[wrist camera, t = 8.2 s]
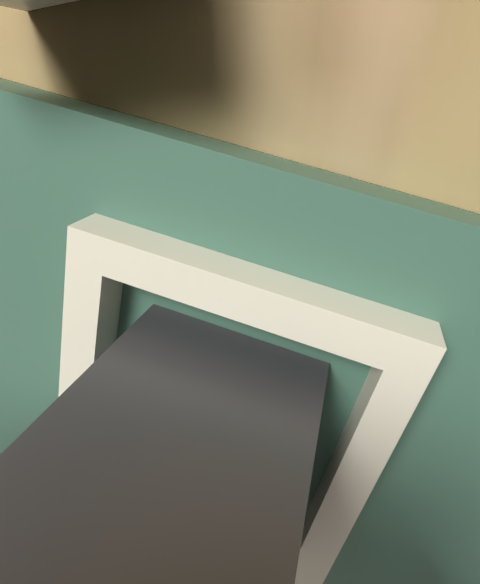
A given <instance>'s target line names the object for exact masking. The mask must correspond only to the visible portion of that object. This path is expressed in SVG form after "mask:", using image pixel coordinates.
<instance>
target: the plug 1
mask: <svg viewBox="0 0 480 584" xmlns="http://www.w3.org/2000/svg"><path fill="white" fill-rule="evenodd" d="M73 1H78V0H0V5H1V6H5V7H10V8H15V9H19V10H24V11H31V10H36V9H40V8H45V7H50V6H54V5H59V4H64V3H68V2H73Z"/></svg>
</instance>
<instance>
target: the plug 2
mask: <svg viewBox="0 0 480 584" xmlns="http://www.w3.org/2000/svg"><path fill="white" fill-rule="evenodd" d="M328 369H329V363H327V362H324V361H321V360H318V359H315V358H312V357H309V356H306V355H303V354H300V353H297V352H294V351H291V350H289V349H286V348H283V347H280V346H277V345H274V344H271V343H268V342H265V341H262V340H259V339H256V338H253V337H250V336H247V335H244V334H241V333H238V332H235V331H232V330H229V329H226V328H223V327H220V326H218V325H215V324H212V323H209V322H206V321H203V320H200V319H197V318H194V317H191V316H188V315H185V314H182V313H179V312H176V311H173V310H170V309H167V308H164V307H161V306H158V305H155V304H153V305H152V306H151V307H150V308H149V309H148V310H147V311H146V312H145V313H144V314H143V315H141V316H140V317H139V318H138V319H137V320H136V321H135V322H134V323H133V324H132V325H131V326H130V327H129V328H128V329H127V330H126V331H125V332H124V333H123V334H122V335H121V336H120V337H119V338H118V339H117V340H116V341H115V342H114V343H113V344H112V345H111V346H110V347H109V348H108V349H107V350H106V351H105V352H104V353H103V354H102V355H101V356H100V357H99V358H98V359H97V360H96V361H95V362H94V363H93V364H92V365H91V366H90V367H89V368H88V369H87V370H86V371H85V372H84V373H83V374H82V375H81V376H80V377H79V378H78V379H77V380H75V381H74V382H73V383H72V384H71V385H70V386H69V387H68V388H67V389H66V390H65V391H64V392H63V393H62V394H61V395H60V396H59V397H58V398H57V399H56V400H55V401H54V402H53V403H52V404H51V405H50V406H49V407H48V408H47V409H46V410H45V411H44V412H43V413H42V414H41V415H40V416H39V417H38V418H37V419H36V420H35V421H34V422H33V423H32V424H31V425H30V426H29V427H28V428H27V429H26V430H25V431H24V432H23V433H22V434H21V435H20V436H19V437H18V438H17V439H16V440H15V441H14V442H13V443H12V444H11V445H9V446H8V447H7V448H6V449H5V450H4V451H3V452H2V453H1V454H0V584H295V578H296V572H297V566H298V559H299V553H300V547H301V540H302V534H303V528H304V521H305V515H306V509H307V502H308V496H309V490H310V483H311V477H312V471H313V464H314V458H315V452H316V445H317V439H318V433H319V426H320V420H321V414H322V407H323V401H324V395H325V388H326V382H327V376H328Z"/></svg>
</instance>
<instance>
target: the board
mask: <svg viewBox="0 0 480 584" xmlns="http://www.w3.org/2000/svg"><path fill="white" fill-rule="evenodd" d="M153 304H155V305H158V306H161V307H164V308H167V309H170V310H173V311H176V312H179V313H182V314H185V315H188V316H191V317H194V318H197V319H200V320H203V321H206V322H209V323H212V324H215V325H218V326H220V327H223V328H226V329H229V330H232V331H235V332H238V333H241V334H244V335H247V336H250V337H253V338H256V339H259V340H262V341H265V342H268V343H271V344H274V345H277V346H280V347H283V348H286V349H289V350H291V351H294V352H297V353H300V354H303V355H306V356H309V357H312V358H315V359H318V360H321V361H324V362H327V363H329V369H328V376H327V382H326V388H325V395H324V401H323V407H322V414H321V420H320V426H319V433H318V439H317V445H316V452H315V458H314V464H313V471H312V477H311V483H310V490H309V496H308V502H307V509H306V515H305V521H304V528H303V534H302V540H301V547H300V553H299V559H298V566H297V572H296V578H295V584H480V214H477V213H474V212H470V211H467V210H463V209H460V208H456V207H453V206H449V205H446V204H442V203H439V202H435V201H432V200H428V199H424V198H421V197H417V196H414V195H410V194H407V193H403V192H400V191H396V190H393V189H389V188H386V187H382V186H379V185H375V184H372V183H368V182H365V181H361V180H358V179H354V178H351V177H347V176H344V175H340V174H336V173H333V172H329V171H326V170H322V169H319V168H315V167H312V166H308V165H305V164H301V163H298V162H294V161H291V160H287V159H284V158H280V157H277V156H273V155H270V154H266V153H263V152H259V151H256V150H252V149H248V148H245V147H241V146H238V145H234V144H231V143H227V142H224V141H220V140H217V139H213V138H210V137H206V136H203V135H199V134H196V133H192V132H189V131H185V130H182V129H178V128H175V127H171V126H168V125H164V124H160V123H157V122H153V121H150V120H146V119H143V118H139V117H136V116H132V115H129V114H125V113H122V112H118V111H115V110H111V109H108V108H104V107H101V106H97V105H94V104H90V103H87V102H83V101H80V100H76V99H72V98H69V97H65V96H62V95H58V94H55V93H51V92H48V91H44V90H41V89H37V88H34V87H30V86H27V85H23V84H20V83H16V82H13V81H9V80H6V79H2V78H0V454H1V453H2V452H3V451H4V450H5V449H6V448H7V447H8V446H9V445H11V444H12V443H13V442H14V441H15V440H16V439H17V438H18V437H19V436H20V435H21V434H22V433H23V432H24V431H25V430H26V429H27V428H28V427H29V426H30V425H31V424H32V423H33V422H34V421H35V420H36V419H37V418H38V417H39V416H40V415H41V414H42V413H43V412H44V411H45V410H46V409H47V408H48V407H49V406H50V405H51V404H52V403H53V402H54V401H55V400H56V399H57V398H58V397H59V396H60V395H61V394H62V393H63V392H64V391H65V390H66V389H67V388H68V387H69V386H70V385H71V384H72V383H73V382H74V381H75V380H77V379H78V378H79V377H80V376H81V375H82V374H83V373H84V372H85V371H86V370H87V369H88V368H89V367H90V366H91V365H92V364H93V363H94V362H95V361H96V360H97V359H98V358H99V357H100V356H101V355H102V354H103V353H104V352H105V351H106V350H107V349H108V348H109V347H110V346H111V345H112V344H113V343H114V342H115V341H116V340H117V339H118V338H119V337H120V336H121V335H122V334H123V333H124V332H125V331H126V330H127V329H128V328H129V327H130V326H131V325H132V324H133V323H134V322H135V321H136V320H137V319H138V318H139V317H140V316H141V315H143V314H144V313H145V312H146V311H147V310H148V309H149V308H150V307H151V306H152V305H153Z"/></svg>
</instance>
